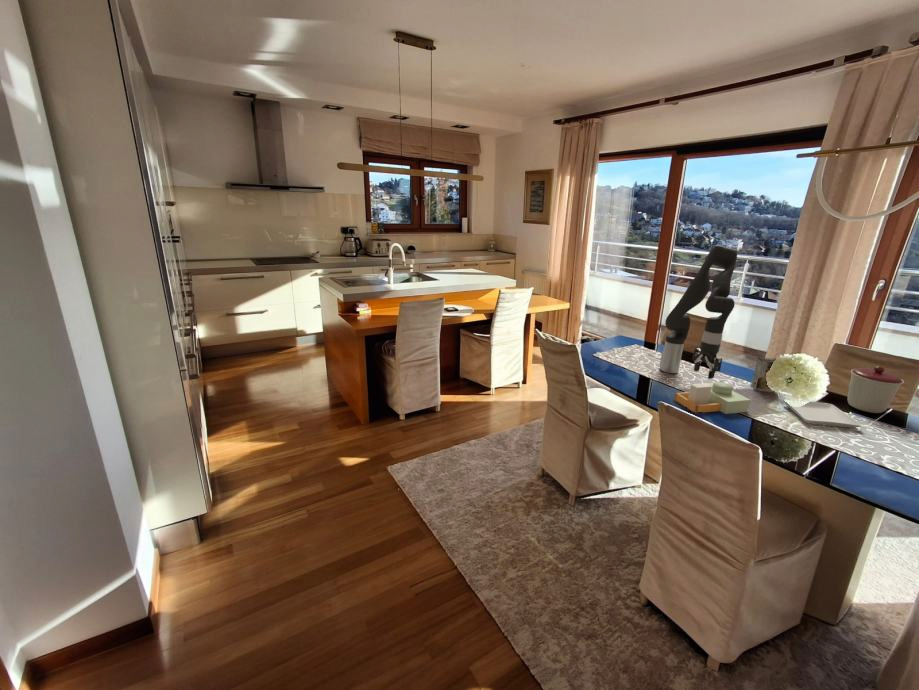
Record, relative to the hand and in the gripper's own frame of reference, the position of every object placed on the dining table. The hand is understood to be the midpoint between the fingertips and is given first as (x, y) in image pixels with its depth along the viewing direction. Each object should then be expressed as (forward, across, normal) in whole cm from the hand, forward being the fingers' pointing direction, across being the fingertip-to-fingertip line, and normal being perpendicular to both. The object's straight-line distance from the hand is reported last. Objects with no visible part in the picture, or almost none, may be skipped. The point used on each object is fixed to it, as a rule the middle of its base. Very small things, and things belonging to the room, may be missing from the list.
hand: (703, 374), depth 195 cm
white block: (+15, 0, 0) cm, 15 cm away
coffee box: (+16, -10, +48) cm, 52 cm away
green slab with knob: (+15, 0, +6) cm, 16 cm away
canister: (+15, +17, +78) cm, 82 cm away
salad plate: (+15, +20, +46) cm, 53 cm away
